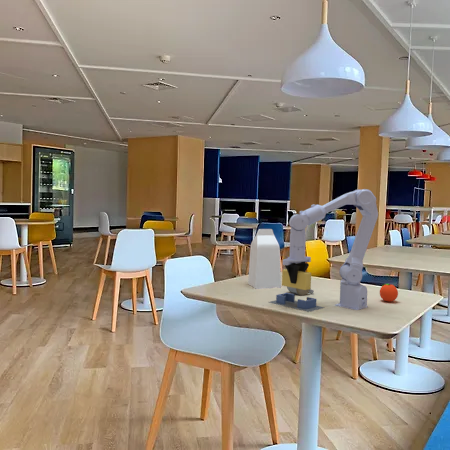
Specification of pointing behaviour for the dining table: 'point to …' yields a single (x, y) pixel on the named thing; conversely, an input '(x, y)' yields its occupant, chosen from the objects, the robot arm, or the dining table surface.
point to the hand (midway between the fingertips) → (296, 282)
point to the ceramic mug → (300, 291)
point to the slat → (302, 280)
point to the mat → (294, 305)
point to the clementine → (388, 292)
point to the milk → (264, 261)
